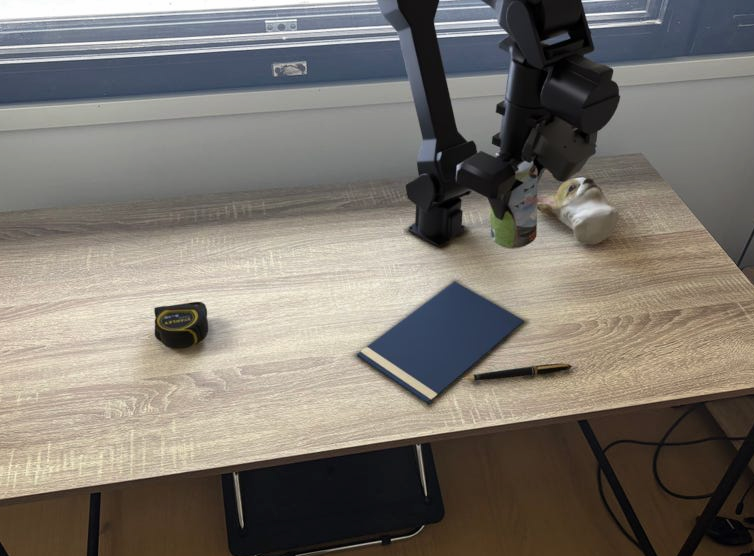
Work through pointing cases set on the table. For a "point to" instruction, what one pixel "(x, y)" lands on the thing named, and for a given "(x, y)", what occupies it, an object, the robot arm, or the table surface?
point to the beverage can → (518, 212)
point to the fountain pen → (521, 372)
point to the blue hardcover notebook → (440, 341)
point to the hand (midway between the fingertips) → (511, 209)
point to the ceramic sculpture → (581, 210)
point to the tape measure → (181, 324)
